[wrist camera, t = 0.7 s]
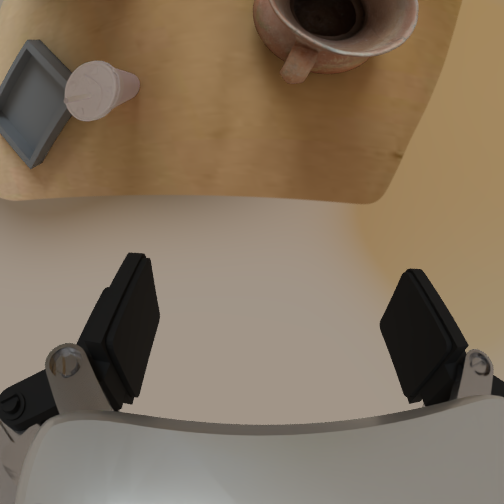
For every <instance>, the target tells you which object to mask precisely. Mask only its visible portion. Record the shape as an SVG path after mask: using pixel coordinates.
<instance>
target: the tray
mask: <svg viewBox="0 0 504 504" xmlns="http://www.w3.org/2000/svg"><path fill="white" fill-rule="evenodd" d="M71 74H72V72H71V71H70V70H69V69H68V68H67V67H66V66H65V65H64V64H63V63H62V62H61V61H60V60H59V59H58V58H57V57H56V56H55V55H54V54H53V53H52V52H51V51H50V50H49V49H48V48H47V47H46V46H45V45H44V44H43V43H42V42H41V41H40V40H27V41H26V42H25V44H24V46H23V47H22V49H21V50H20V52H19V54H18V55H17V57H16V59H15V60H14V62H13V64H12V66H11V67H10V69H9V71H8V73H7V75H6V77H5V79H4V80H3V82H2V84H1V86H0V133H1V135H2V136H3V137H4V138H5V140H6V141H7V142H8V143H9V144H10V146H11V147H12V148H13V149H14V151H15V152H16V153H17V154H18V155H19V156H20V158H21V159H22V160H23V161H24V162H25V163H26V165H27V166H28V167H29V168H30V169H32V168H34V167H36V166H37V165H39V164H41V163H42V162H43V160H44V158H45V157H46V155H47V153H48V151H49V150H50V148H51V146H52V145H53V143H54V141H55V140H56V138H57V137H58V135H59V133H60V132H61V130H62V129H63V127H64V126H65V124H66V123H67V121H68V120H69V118H70V117H71V115H72V114H71V113H70V112H69V110H68V109H67V106H66V104H65V103H64V99H65V87H66V84H67V81H68V79H69V77H70V75H71Z"/></svg>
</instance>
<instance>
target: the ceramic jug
mask: <svg viewBox="0 0 504 504" xmlns="http://www.w3.org/2000/svg"><path fill="white" fill-rule="evenodd" d="M253 18H254V23H255V27H256V29H257V32H258V34H259V36H260V37H261V39H262V41H263V42H264V43H265V45H266V46H267V47H268V48H269V49H270V50H271V51H272V52H273V53H274V54H275V55H276V56H278V57H279V58H280V59H282V60H283V61H285V63H284V65H283V67H282V68H281V70H280V75H281V76H282V78H283V79H284V80H285V81H286V82H287V83H291V84H295V83H302V82H303V81H304V80H305V79H306V78H307V76H308V74H309V72H313V73H320V74H333V73H341V72H345V71H348V70H351V69H354V68H356V67H358V66H360V65H361V64H363V63H364V62H365V61H367V60H368V59H369V58H370V57H371V56H377V55H381V54H384V53H387V52H389V51H391V50H394V49H396V48H397V47H399V46H400V45H401V44H403V43H404V42H405V41H406V40H407V39H408V38H409V37H410V35H411V34H412V32H413V30H414V28H415V26H416V23H417V20H418V1H417V0H254V5H253Z"/></svg>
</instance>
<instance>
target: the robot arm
mask: <svg viewBox="0 0 504 504" xmlns="http://www.w3.org/2000/svg"><path fill="white" fill-rule="evenodd" d="M159 319H160V312H159V307H158V302H157V296H156V291H155V285H154V278H153V272H152V266H151V260H150V258H146V256H145V254H142V253H128V254H127V256H126V258H125V260H124V261H123V263H122V265H121V267H120V268H119V270H118V272H117V274H116V276H115V278H114V279H113V281H112V283H111V285H110V287H107V288H105V289H104V290H103V292H102V294H101V296H100V298H99V300H98V301H97V303H96V305H95V307H94V309H93V311H92V313H91V315H90V317H89V319H88V321H87V324H86V325H85V327H84V330H83V332H82V334H81V336H80V338H79V340H78V342H77V344H73V343H65V344H62V345H59V346H57V347H56V348H54V349H53V350H52V351H51V352H50V353H49V355H48V356H47V358H46V362H45V370H42V371H41V372H38V373H36V374H34V375H32V376H31V377H28V378H27V379H24V380H23V381H21V382H18V383H16V384H14V385H12V386H11V387H8V388H7V389H5V390H4V391H3V392H2V393H1V394H0V504H504V382H503V381H502V380H500V379H499V378H497V377H496V376H494V375H493V365H492V362H491V360H490V359H489V357H488V356H487V355H486V354H485V353H484V352H482V351H480V350H476V349H472V350H470V351H469V352H468V353H467V354H466V352H465V349H466V348H467V347H468V344H467V342H466V340H465V338H464V336H463V334H462V333H461V331H460V329H459V327H458V326H457V324H456V322H455V321H454V319H453V317H452V316H451V314H450V312H449V310H448V309H447V307H446V305H445V304H444V302H443V301H442V299H441V297H440V296H439V294H438V293H437V291H436V290H435V288H434V287H433V285H432V284H431V282H430V281H429V279H428V278H427V276H426V275H425V273H424V272H423V271H422V270H421V269H407V270H406V272H404V273H403V274H402V276H401V278H400V280H399V283H398V285H397V287H396V289H395V291H394V294H393V296H392V298H391V300H390V302H389V304H388V306H387V309H386V311H385V313H384V315H383V317H382V319H381V321H380V330H381V333H382V335H383V338H384V340H385V343H386V346H387V348H388V351H389V353H390V356H391V359H392V362H393V364H394V367H395V370H396V373H397V376H398V379H399V382H400V385H401V388H402V390H403V393H404V395H405V396H406V397H407V398H408V401H409V404H411V403H415V402H420V401H421V400H422V399H423V402H424V404H423V407H422V408H418V409H413V410H408V411H404V412H398V413H393V414H387V415H382V416H375V417H369V418H362V419H354V420H346V421H336V422H325V423H312V424H292V425H291V424H290V425H240V424H219V423H206V422H195V421H184V420H175V419H167V418H158V417H152V416H146V415H138V414H130V413H123V412H120V411H119V410H120V409H121V408H122V405H123V403H127V404H132V403H133V400H134V397H138V396H139V394H140V390H141V386H142V382H143V378H144V374H145V371H146V367H147V363H148V359H149V356H150V351H151V348H152V345H153V341H154V337H155V334H156V331H157V327H158V324H159Z"/></svg>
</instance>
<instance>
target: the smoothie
mask: <svg viewBox="0 0 504 504" xmlns="http://www.w3.org/2000/svg"><path fill="white" fill-rule="evenodd" d="M139 88H140V82H139V79H138V77H137V76H136V75H134V74H132V73H129V72H126V71H123V70H120V69H117V68H114V67H113V66H111V65H110V64H109V63H107V62H104V61H90V62H86V63H84V64H82V65H80V66H79V67H78V68H76V69H75V70H74V71H73V73H72V74H71V75H70V77H69V79H68V81H67V84H66V87H65V99H64V103H65V104H66V106H67V109H68V110H69V112H70V113H71V114H72V115H73V116H74V117H75V118H77V119H78V120H81V121H93V120H98V119H100V118H102V117H104V116H105V115H107V114H108V113H109V112H110V111H111V110H112V109H113V108H115V107H116V106H118V105H120V104H122V103H124V102H126V101H128V100H130V99H132V98H133V97H134V96H136V94H137V93H138V91H139Z"/></svg>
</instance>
